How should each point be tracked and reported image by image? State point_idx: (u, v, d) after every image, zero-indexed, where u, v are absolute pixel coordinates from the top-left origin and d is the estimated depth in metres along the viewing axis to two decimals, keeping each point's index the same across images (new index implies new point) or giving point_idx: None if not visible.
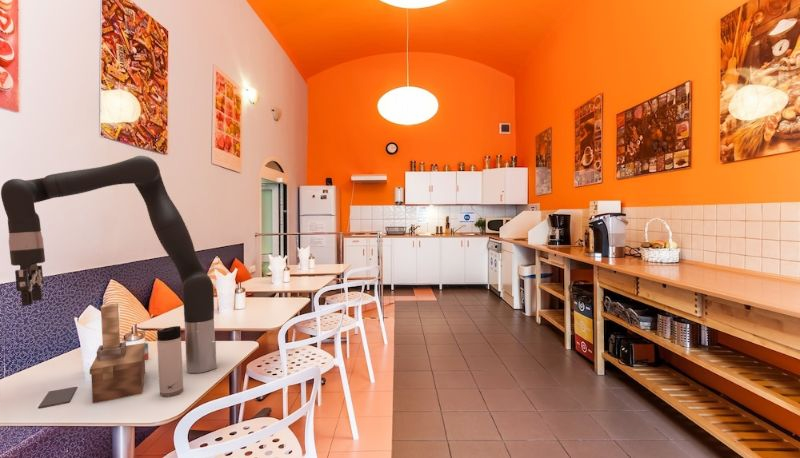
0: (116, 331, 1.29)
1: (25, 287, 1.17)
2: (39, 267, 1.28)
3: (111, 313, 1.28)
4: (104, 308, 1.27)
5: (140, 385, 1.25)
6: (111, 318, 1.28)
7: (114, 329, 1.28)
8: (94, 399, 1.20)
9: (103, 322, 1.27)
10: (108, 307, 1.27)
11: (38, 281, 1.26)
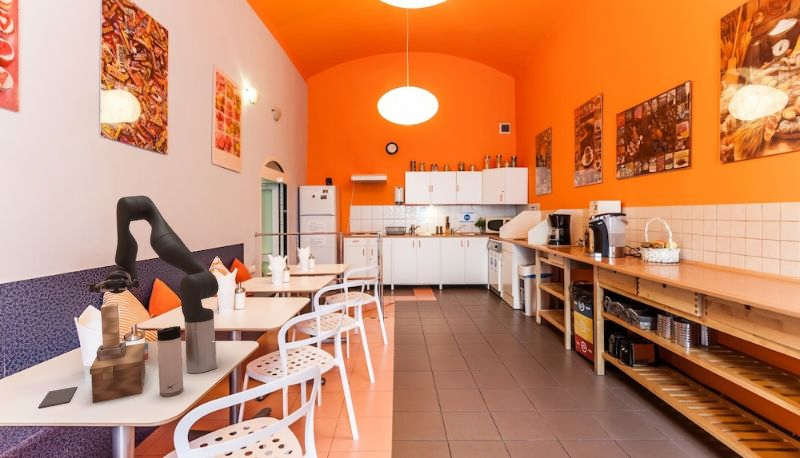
0: (116, 331, 1.29)
1: None
2: None
3: (111, 313, 1.28)
4: (104, 308, 1.27)
5: (140, 385, 1.25)
6: (111, 318, 1.28)
7: (114, 329, 1.28)
8: (94, 399, 1.20)
9: (103, 322, 1.27)
10: (108, 307, 1.27)
11: (125, 282, 1.45)
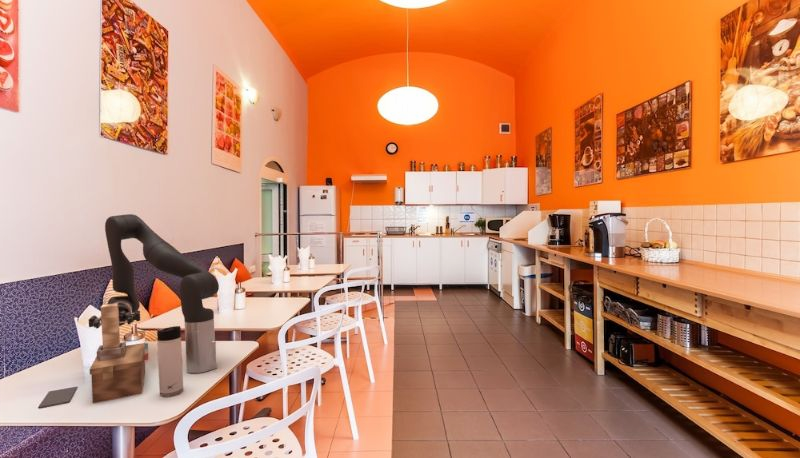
0: (116, 331, 1.29)
1: None
2: None
3: (111, 313, 1.28)
4: (104, 308, 1.27)
5: (140, 385, 1.25)
6: (111, 318, 1.28)
7: (114, 329, 1.28)
8: (94, 399, 1.20)
9: (103, 322, 1.27)
10: (108, 307, 1.27)
11: (125, 315, 1.41)
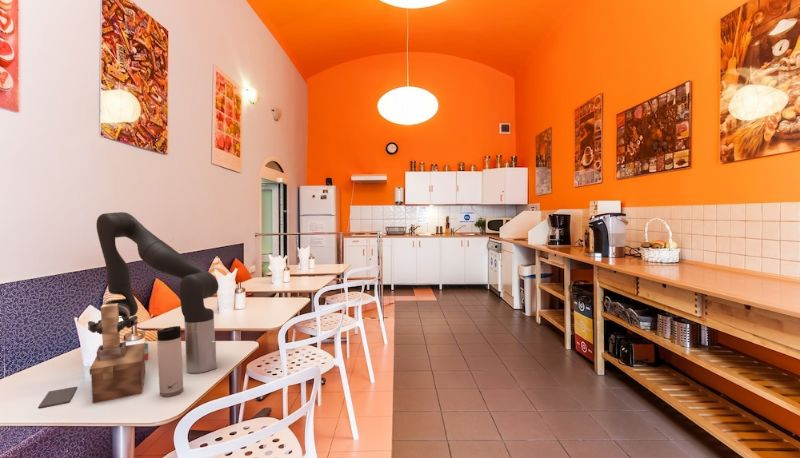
0: (116, 331, 1.29)
1: None
2: None
3: (111, 313, 1.28)
4: (104, 308, 1.27)
5: (140, 385, 1.25)
6: (111, 318, 1.28)
7: (114, 329, 1.28)
8: (94, 399, 1.20)
9: (103, 322, 1.27)
10: (108, 307, 1.27)
11: None
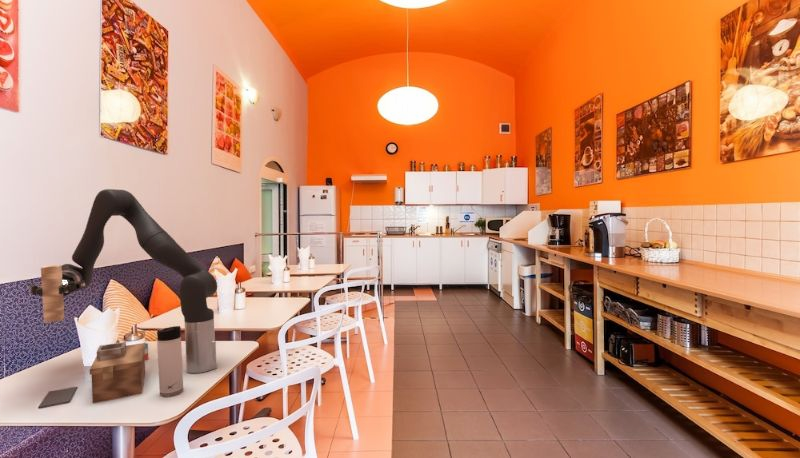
0: (58, 293, 1.22)
1: None
2: None
3: (52, 274, 1.21)
4: (44, 269, 1.20)
5: (140, 385, 1.25)
6: (53, 279, 1.21)
7: (55, 292, 1.21)
8: (94, 399, 1.20)
9: (43, 283, 1.20)
10: (49, 268, 1.20)
11: None
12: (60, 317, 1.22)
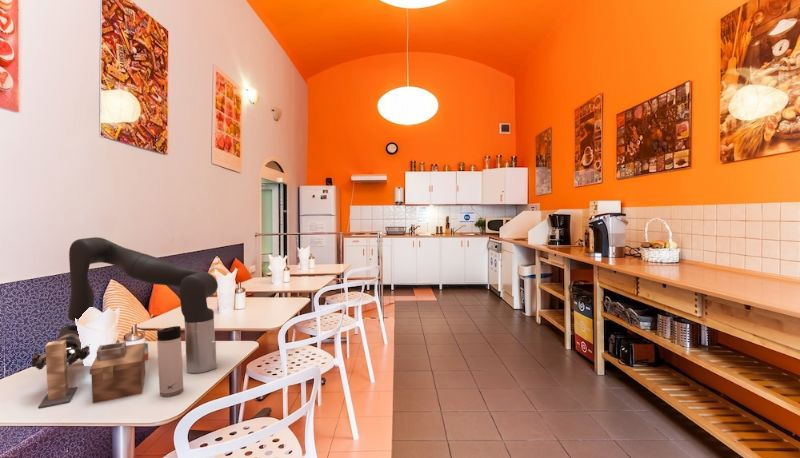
0: (62, 370, 1.22)
1: None
2: None
3: (56, 352, 1.22)
4: (49, 347, 1.21)
5: (140, 385, 1.25)
6: (57, 356, 1.22)
7: (60, 368, 1.22)
8: (94, 399, 1.20)
9: (48, 361, 1.21)
10: (53, 345, 1.21)
11: (69, 352, 1.28)
12: (64, 393, 1.23)
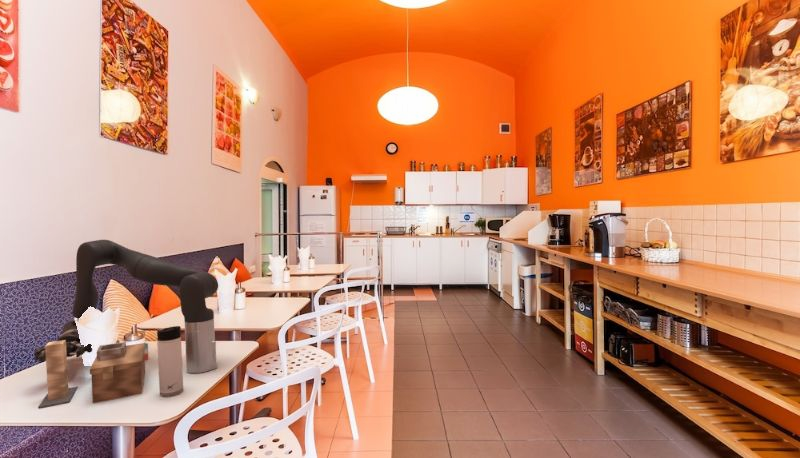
0: (62, 370, 1.22)
1: None
2: None
3: (56, 352, 1.22)
4: (49, 347, 1.21)
5: (140, 385, 1.25)
6: (57, 356, 1.22)
7: (60, 368, 1.22)
8: (94, 399, 1.20)
9: (48, 361, 1.21)
10: (53, 345, 1.21)
11: (75, 346, 1.34)
12: (64, 393, 1.23)
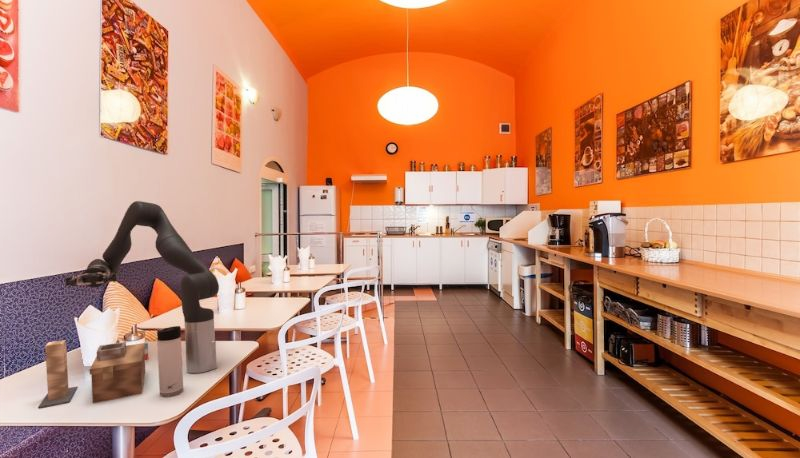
0: (62, 370, 1.22)
1: None
2: None
3: (56, 352, 1.22)
4: (49, 347, 1.21)
5: (140, 385, 1.25)
6: (57, 356, 1.22)
7: (60, 368, 1.22)
8: (94, 399, 1.20)
9: (48, 361, 1.21)
10: (53, 345, 1.21)
11: (102, 275, 1.45)
12: (64, 393, 1.23)
